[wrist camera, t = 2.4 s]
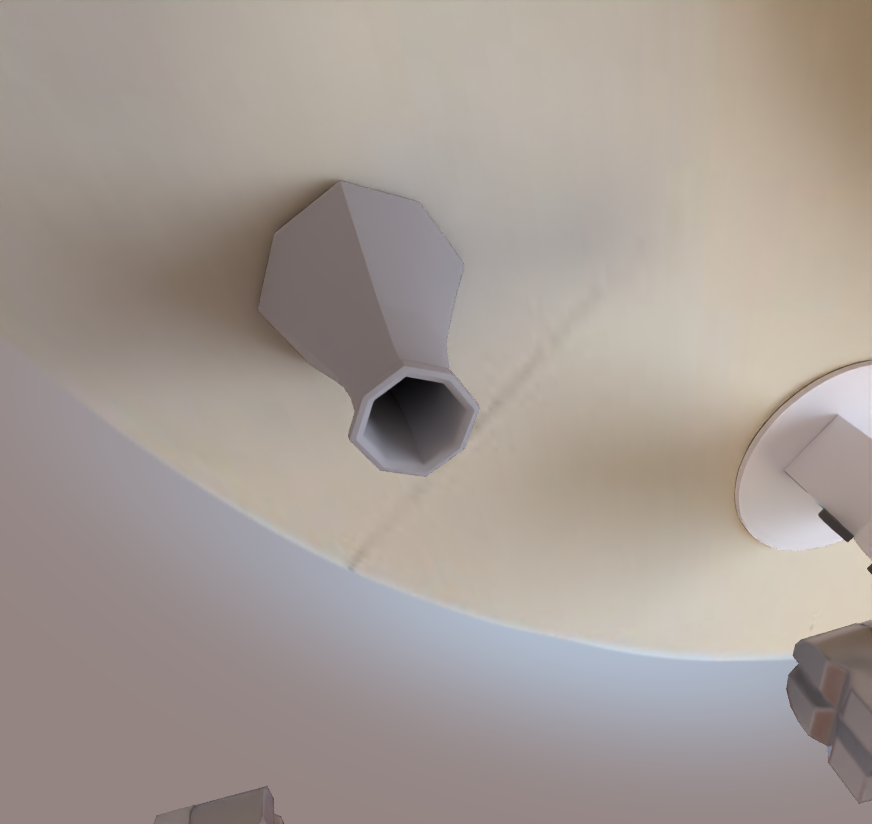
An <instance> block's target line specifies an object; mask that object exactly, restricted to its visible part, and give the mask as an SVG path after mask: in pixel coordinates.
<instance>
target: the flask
mask: <svg viewBox="0 0 872 824" xmlns="http://www.w3.org/2000/svg"><path fill="white" fill-rule="evenodd" d="M463 267H464V263H463V261H462V260H461V259H460V257H459V256H458V254H457V253H456V252H455V250H454V249H453V248H452V246H451V245H450V243H449V242H448V241H447V239H446V238H445V236H444V235H443V234H442V232H441V231H440V230H439V228H438V227H437V225H436V224H435V223H434V221H433V220H432V218H431V217H430V216H429V214H428V213H427V212H426V210H425V209H424V207H423V206H422V205H421V203H420V202H417V201H413V200H409V199H406V198H402V197H398V196H395V195H391V194H388V193H384V192H380V191H377V190H373V189H369V188H366V187H362V186H358V185H355V184H351V183H348V182H344V181H339V182H337V183H336V184H335V185H334V186H332V187H331V188H330V189H329V190H327V191H326V192H325V193H324V194H322V195H321V196H320V197H319V198H317V199H316V200H315V201H314V202H313V203H311V204H310V205H309V206H308V207H306V208H305V209H304V210H303V211H301V212H300V213H299V214H298V215H296V216H295V217H294V218H293V219H291V220H290V221H289V222H288V223H287V224H285V225H284V226H283V227H282V228H280V229H279V230H278V231H277V232H275V233H274V237H273V241H272V246H271V250H270V255H269V260H268V264H267V269H266V273H265V278H264V283H263V287H262V292H261V297H260V301H259V306H258V311H259V312H260V313H261V314H262V315H263V316H264V317H265V318H266V319H267V320H268V321H269V322H270V323H271V325H272V326H273V327H274V328H275V329H276V330H277V331H278V332H279V333H280V334H281V335H282V336H283V337H284V338H285V339H286V340H287V341H288V342H289V343H290V344H291V345H292V346H293V347H294V348H295V349H296V350H297V351H298V352H299V353H300V354H301V355H302V357H303V358H304V359H305V360H306V361H307V362H308V363H309V364H310V365H312V366H313V367H314V368H316V369H317V370H319V371H320V372H322V373H324V374H325V375H327V376H328V377H330V378H332V379H333V380H335V381H336V382H338V383H339V384H340V385H341V386H343V387H344V389H345V390H346V392H347V393H348V394H349V396H350V397H351V400H352V404H353V407H354V410H355V413H354V416H353V419H352V423H351V426H350V429H349V434H348V437H349V440H350V441H351V442H352V443H353V444H354V445H355V446H356V447H357V448H358V449H359V450H360V451H361V452H362V453H363V454H364V455H365V456H366V457H367V458H368V459H369V460H370V461H371V462H372V463H373V464H374V465H375V466H376V467H377V468H378V469H379V470H380V471H386V472H394V473H401V474H408V475H416V476H423V477H426V476H428V475H429V474H430V473H432V472H433V471H435V470H436V469H437V468H439V467H440V466H442V465H443V464H444V463H446V462H447V461H449V460H450V459H451V458H453V457H454V456H456V455H457V454H458V453H460V452H461V451H462V450H464V449H465V446H466V443H467V441H468V438H469V436H470V433H471V430H472V428H473V425H474V423H475V420H476V417H477V415H478V412H479V410H480V407H479V404H478V403H477V401H476V400H475V399H474V398H473V397H472V395H471V394H470V393H469V392H468V390H467V389H466V388H465V387H464V386H463V384H462V383H461V382H460V381H459V380H458V378H457V377H456V376H455V375H454V373H453V372H452V371H451V370H450V369H449V361H448V353H447V345H446V343H447V338H448V333H449V327H450V322H451V317H452V311H453V306H454V302H455V298H456V295H457V291H458V287H459V284H460V280H461V276H462V272H463Z"/></svg>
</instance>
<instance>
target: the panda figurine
mask: <svg viewBox="0 0 872 824" xmlns="http://www.w3.org/2000/svg"><path fill="white" fill-rule="evenodd" d="M735 504H736V509H737V513H738V516H739V518H740V520H741V522H742V524H743V525H744V527H745V528H746V529H747V530H748V531H749V532H750V533H751V535H752V536H753V537H755V538H756V539H757V540H758V541H760V542H762V543H763V544H765V545H767V546H770V547H773V548H776V549H781V550H789V551H801V550H810V549H816V548H820V547H824V546H828V545H831V544H834V543H837V542H839V541H842V540H845V541H846V542H849V541H850V540H851V539H852V538H853V537H854V540H855V541H856V543H857V544H858V546H859V547H860V548H861V549H862V550H863V552H864V553H865V554H866V555H867V556H868V557H869V558H870V559H871V560H872V361H866V362H861V363H857V364H853V365H850V366H847V367H844V368H841V369H839V370H836V371H834V372H831V373H829V374H827V375H825V376H823V377H821V378H819V379H818V380H816V381H814V382H813V383H811V384H809V385H808V386H806V387H805V388H803V389H802V390H801V391H799V392H798V393H797V394H795V395H794V396H793V397H791V398H790V399H789V400H788V401H787V402H786V403H785V404H783V405H782V406H781V407H780V408H779V409H778V410H777V411H776V412H775V413H774V414H773V415H772V416H771V417H770V419H769V420H768V421H767V422H766V423H765V424H764V426H763V427H762V428H761V430H760V431H759V432H758V434H757V435H756V437H755V438H754V440H753V441H752V443H751V445H750V446H749V448H748V450H747V452H746V454H745V456H744V458H743V460H742V463H741V466H740V469H739V472H738V476H737V480H736V486H735ZM867 569H868V571H869V572H870V573H871V574H872V564H871V565H870V566H869V567H868V568H867Z"/></svg>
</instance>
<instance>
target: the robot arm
mask: <svg viewBox="0 0 872 824" xmlns="http://www.w3.org/2000/svg"><path fill="white" fill-rule="evenodd" d="M793 657H794V658H795V659H796V661H797V662H798V663H799V664H798V665H797V666H796V667H795V668H794V669H793V670H792V671H791V673H790V674H789V675H788V681H787V688H786V690H787V694H788V698H789V702H790V706H791V708H792V710H793V712H794V714H795V716H796V718H797V720H798V722H799V723H800V724H801V726H802V727H803V729H804V730H805V731H806V733H807V734H808V736H810V737H812V738H813V739H815V740H817V741H819V742H821V743H823V744H825V745H826V746H828V763H829V764H830V766H831V767H832V768H833V770H834V771H835V772H836V774H837V775H838V776H839V778H840V779H841V780H842V782H843V783H844V784H845V786H846V787H847V788H848V790H849V791H850V792H851V794H852V795H853V796H854V798H855V799H856V800H857V802H858V803H859V804H860V803H864V802H867V801H871V800H872V620H869V621H865V622H862V623H858V624H857V623H855V624H852V625H849V626H845V627H842V628H839V629H835V630H832V631H828V632H825V633H822V634H818V635H815V636H811V637H808V638H805V639H801V640H800V641H799V642H798V643H797V644H795V648H794V652H793ZM154 824H284V822H283V820H282V817H281V816H279V815H276V814H274V798H273V796H272V794H271V792H270V790H269V788H268V786H266V787H262V788H258V789H255V790H251V791H247V792H244V793H239V794H236V795H232V796H228V797H225V798H221V799H217V800H213V801H210V802H206V803H202V804H199V805H192V806H189V807H185V808H181V809H178V810H174V811H171V812H168V813H164V814H160V815H157V816H156V819H155V821H154Z"/></svg>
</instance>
